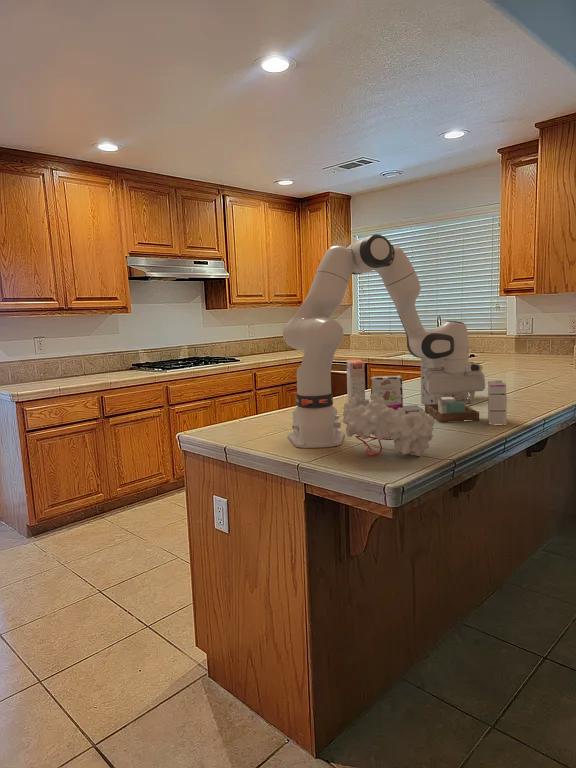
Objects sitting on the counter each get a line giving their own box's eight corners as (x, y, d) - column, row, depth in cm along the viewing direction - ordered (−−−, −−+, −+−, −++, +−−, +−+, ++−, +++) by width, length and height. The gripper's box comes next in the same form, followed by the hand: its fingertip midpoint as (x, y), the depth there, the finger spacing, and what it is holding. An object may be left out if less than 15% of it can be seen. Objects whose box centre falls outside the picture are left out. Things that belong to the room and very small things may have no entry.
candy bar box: (403, 419, 191) (402, 375, 188) (403, 422, 186) (402, 377, 184) (372, 419, 193) (371, 375, 191) (371, 422, 189) (370, 377, 186)
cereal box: (454, 396, 231) (454, 340, 228) (468, 398, 225) (468, 340, 222) (420, 403, 219) (420, 344, 216) (435, 405, 213) (434, 344, 210)
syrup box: (506, 425, 174) (507, 382, 172) (488, 425, 176) (488, 382, 174) (505, 422, 179) (506, 380, 177) (487, 421, 181) (487, 380, 179)
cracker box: (366, 416, 198) (365, 362, 195) (350, 417, 199) (349, 362, 196) (362, 409, 212) (360, 358, 209) (347, 410, 212) (345, 359, 209)
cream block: (455, 414, 195) (455, 399, 194) (442, 415, 195) (442, 399, 194) (451, 412, 200) (451, 396, 199) (438, 412, 200) (438, 397, 199)
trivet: (423, 415, 197) (423, 410, 196) (397, 416, 197) (397, 411, 196) (416, 410, 206) (416, 405, 206) (391, 411, 206) (391, 406, 206)
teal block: (464, 420, 185) (464, 403, 184) (450, 421, 185) (450, 404, 184) (459, 417, 190) (459, 401, 189) (446, 418, 190) (446, 402, 189)
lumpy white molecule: (384, 469, 158) (318, 430, 150) (412, 416, 160) (349, 375, 152) (420, 486, 140) (348, 443, 132) (452, 426, 141) (383, 380, 133)
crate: (479, 420, 183) (479, 412, 183) (439, 422, 183) (439, 414, 183) (461, 410, 202) (461, 402, 202) (425, 412, 202) (424, 404, 202)
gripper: (428, 369, 182) (429, 408, 184) (487, 365, 182) (487, 404, 184) (423, 367, 188) (424, 404, 190) (480, 363, 188) (480, 401, 190)
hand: (455, 404), depth 187 cm, fingers open, 8 cm apart
